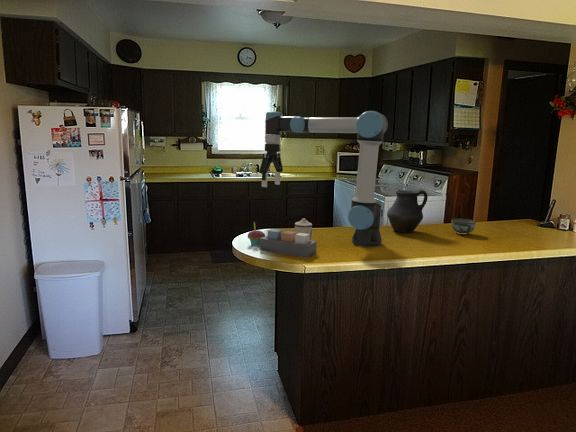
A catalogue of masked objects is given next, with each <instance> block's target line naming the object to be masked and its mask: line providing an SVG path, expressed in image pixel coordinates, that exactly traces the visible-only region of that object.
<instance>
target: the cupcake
mask: <svg viewBox="0 0 576 432" xmlns="http://www.w3.org/2000/svg"><path fill="white" fill-rule="evenodd" d="M253 229H254V230H251V231H249V233H248V234H247V238H248V239H249V242H250V244H251V246H252V247H260V238H263V237H265V236H266V233H264V232H263V231H262V230H258V229H257V228H256V222H255V221H253Z"/></svg>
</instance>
